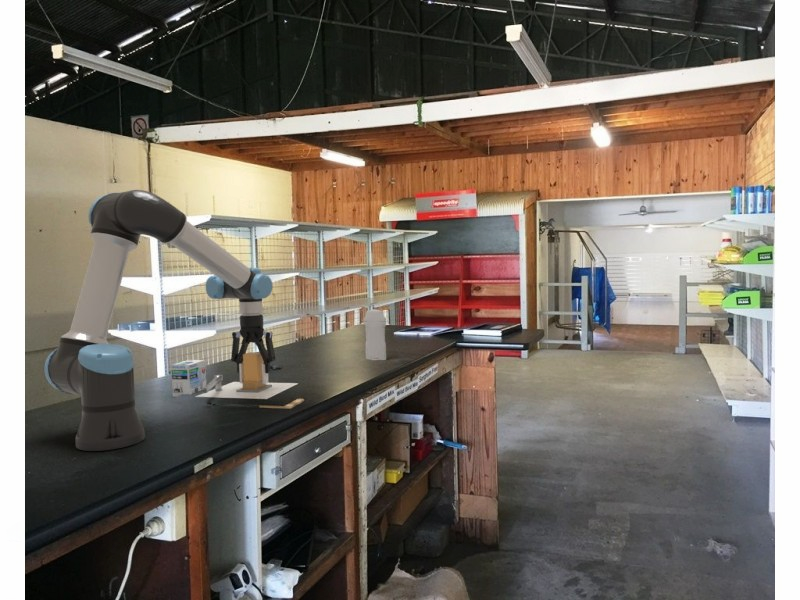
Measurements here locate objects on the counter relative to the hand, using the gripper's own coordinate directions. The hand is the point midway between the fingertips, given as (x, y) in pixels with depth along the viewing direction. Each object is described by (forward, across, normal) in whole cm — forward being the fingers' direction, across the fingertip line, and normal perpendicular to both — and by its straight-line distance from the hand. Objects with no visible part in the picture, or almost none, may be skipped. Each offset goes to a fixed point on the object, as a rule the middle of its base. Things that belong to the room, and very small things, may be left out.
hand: (254, 382), depth 200 cm
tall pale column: (+3, -22, -69) cm, 73 cm away
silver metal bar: (-1, +8, +12) cm, 15 cm away
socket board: (+3, +2, +1) cm, 4 cm away
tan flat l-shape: (+3, -17, +15) cm, 23 cm away
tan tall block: (+2, 0, 0) cm, 2 cm away
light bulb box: (+3, +21, +5) cm, 22 cm away
